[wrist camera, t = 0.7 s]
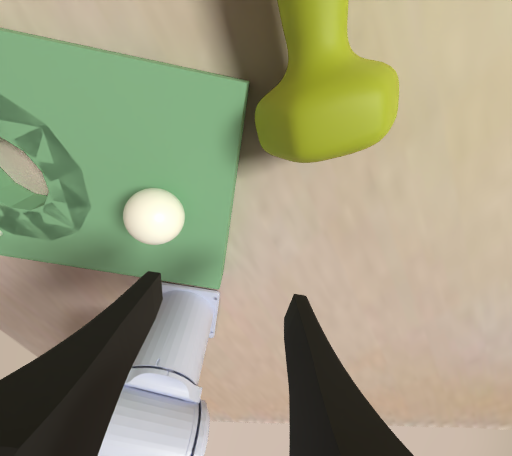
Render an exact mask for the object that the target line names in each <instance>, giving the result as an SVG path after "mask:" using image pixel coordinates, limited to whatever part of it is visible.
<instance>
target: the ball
mask: <svg viewBox="0 0 512 456" xmlns="http://www.w3.org/2000/svg"><path fill="white" fill-rule="evenodd" d="M123 221H124V225H125V227H126V229H127V231H128V232H129V234H130V235H131V236H132V237H134V238H135V239H136V240H138V241H140V242H142V243H145V244H150V245H159V244H164V243H167V242H169V241H171V240H172V239H174V238H175V237H176V236H177V235H178V234H179V233H180V231H181V230H182V228H183V225H184V221H185V212H184V209H183V206H182V204H181V202H180V201H179V200H178V198H177V197H175V196H174V195H173V194H172V193H170V192H168V191H166V190H163V189H159V188H148V189H143V190H141V191H139V192H137V193H135V194H134V195H132V196H131V197H130V199H129V200H128V201H127V203H126V205H125V207H124V211H123Z"/></svg>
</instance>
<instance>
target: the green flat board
mask: <svg viewBox="0 0 512 456" xmlns="http://www.w3.org/2000/svg"><path fill="white" fill-rule="evenodd" d="M249 83H250V81H247V80H242V79H238V78H233V77H228V76H224V75H219V74H214V73H210V72H205V71H200V70H196V69H191V68H186V67H182V66H177V65H172V64H168V63H163V62H158V61H154V60H149V59H144V58H140V57H135V56H130V55H126V54H121V53H116V52H111V51H107V50H102V49H97V48H93V47H88V46H83V45H79V44H74V43H69V42H65V41H60V40H55V39H51V38H46V37H41V36H37V35H32V34H27V33H23V32H18V31H13V30H9V29H4V28H0V137H1V138H3V139H5V140H6V141H8V142H9V143H11V144H13V145H14V146H16V147H18V148H19V149H21V150H23V151H24V152H25V153H26V154H27V155H28V157H29V158H30V159H31V160H32V161H33V162H34V163H35V164H36V166H37V167H38V168H39V169H40V170H41V171H42V173H43V176H44V178H45V181H46V184H47V187H48V190H49V193H48V196H46V195H40V194H35V193H33V192H31V191H29V190H27V189H26V188H24V187H22V186H20V185H19V184H17V183H15V182H14V181H13V180H12V179H11V178H10V177H9V176H8V175H7V174H6V173H5V172H4V171H3V170H2V169H1V168H0V231H1V232H2V233H3V235H1V236H0V255H3V256H9V257H15V258H22V259H28V260H34V261H41V262H47V263H54V264H60V265H66V266H73V267H79V268H85V269H92V270H98V271H105V272H111V273H117V274H124V275H130V276H136V277H142V276H143V275H144V274H145V273H146V272H148V271H152V272H158V273H161V280H162V281H168V282H175V283H181V284H187V285H194V286H200V287H207V288H213V289H219V288H220V284H221V280H222V275H223V270H224V263H225V256H226V249H227V241H228V234H229V227H230V220H231V213H232V205H233V198H234V191H235V184H236V177H237V170H238V162H239V155H240V148H241V141H242V134H243V126H244V119H245V112H246V105H247V98H248V91H249ZM148 188H159V189H163V190H166V191H168V192H170V193H172V194H173V195H174V196H175V197H177V198H178V200H179V201H180V202H181V204H182V206H183V209H184V212H185V221H184V225H183V228H182V230H181V231H180V233H179V234H178V235H177V236H176V237H175V238H174V239H172V240H171V241H169V242H167V243H164V244H159V245H150V244H145V243H142V242H140V241H138V240H136V239H135V238H134V237H132V236H131V235H130V234H129V232H128V231H127V229H126V227H125V225H124V221H123V211H124V207H125V205H126V203H127V201H128V200H129V199H130V197H131V196H132V195H134V194H135V193H137V192H139V191H141V190H143V189H148Z"/></svg>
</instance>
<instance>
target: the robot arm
mask: <svg viewBox="0 0 512 456" xmlns="http://www.w3.org/2000/svg"><path fill="white" fill-rule="evenodd" d="M219 298H220V293H219V292H218V291H215V290H208V289H202V288H196V287H189V286H183V285H176V284H170V283H164V282H161V273H158V272H152V271H148V272H146V273H145V274H144V275H143V276H142V277H141V278H140V279H139V280H138V281H137V282H136V283H135V284H134V285H132V286H131V287H130V288H129V289H128V290H127V291H126V292H125V293H124V294H123V295H121V296H120V297H119V298H118V299H117V300H116V301H115V302H113V303H112V304H111V305H110V306H109V307H108V308H106V309H105V310H104V311H103V312H101V313H100V314H99V315H98V316H96V317H95V318H94V319H93V320H91V321H90V322H89V323H88V324H86V325H85V326H84V327H82V328H81V329H80V330H78V331H77V332H75V333H74V334H73V335H71V336H70V337H68V338H67V339H65V340H64V341H63V342H61V343H60V344H58V345H57V346H55V347H54V348H52V349H50V350H49V351H47V352H46V353H44V354H43V355H41V356H40V357H38V358H36V359H35V360H33V361H32V362H30V363H28V364H27V365H25V366H23V367H22V368H20V369H18V370H16V371H15V372H13V373H11V374H10V375H8V376H6V377H4V378H3V379H1V380H0V456H204V454H205V450H206V446H207V440H208V434H209V424H210V423H209V422H210V417H209V411H208V409H207V405H206V402H205V401H204V400H201V399H200V397H201V392H202V387H199V386H198V382H199V377H200V373H201V368H202V364H203V360H204V355H205V351H206V346H207V342H208V338H213V337H214V334H215V327H216V319H217V312H218V305H219ZM284 342H285V352H286V362H287V372H288V382H289V402H290V456H413V454H412V453H411V452H410V451H409V450H408V449H407V448H406V447H405V446H404V445H403V443H402V442H401V441H400V440H399V439H398V438H397V437H396V436H395V434H394V433H393V432H392V431H391V430H390V429H389V427H388V426H387V425H386V424H385V422H384V421H383V420H382V419H381V418H380V416H379V415H378V414H377V412H376V411H375V410H374V409H373V407H372V406H371V405H370V403H369V402H368V401H367V399H366V398H365V397H364V396H363V394H362V393H361V392H360V390H359V389H358V387H357V386H356V384H355V383H354V382H353V380H352V379H351V377H350V376H349V374H348V373H347V371H346V370H345V368H344V367H343V365H342V364H341V362H340V360H339V359H338V357H337V355H336V354H335V352H334V350H333V349H332V347H331V345H330V343H329V341H328V340H327V338H326V336H325V334H324V332H323V330H322V328H321V326H320V324H319V322H318V320H317V318H316V316H315V314H314V312H313V310H312V308H311V305H310V303H309V301H308V299H307V297H306V296H304V295H297V294H294V296H293V298H292V300H291V303H290V305H289V308H288V310H287V313H286V315H285V317H284Z"/></svg>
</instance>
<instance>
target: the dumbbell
mask: <svg viewBox="0 0 512 456" xmlns="http://www.w3.org/2000/svg"><path fill="white" fill-rule="evenodd" d="M277 2H278V7H279V12H280V17H281V22H282V27H283V31H284V35H285V39H286V43H287V49H288V67H287V70H286V73H285V75H284V77H283V78H282V80H281V81H280V83H279V84H278V85H277V86H276V87H275V88H274V89H272V90H271V91H270V92H269V93H268V94H266V95H265V96H264V97H263V98H262V99H261V100H260V102H259V103H258V105H257V107H256V110H255V125H256V130H257V134H258V138H259V142H260V144H261V146H262V148H263V149H264V150H265V151H266V152H267V153H269V154H271V155H273V156H276V157H279V158H283V159H286V160H289V161H293V162H299V163H310V162H318V161H323V160H328V159H332V158H336V157H341V156H345V155H348V154H352V153H355V152H358V151H361V150H364V149H366V148H368V147H370V146H372V145H374V144H376V143H377V142H379V141H380V140H381V139H382V138H383V137H384V136H385V135H386V134H387V133H388V131H389V130H390V128H391V126H392V124H393V122H394V120H395V118H396V115H397V111H398V100H399V81H398V76H397V74H396V71H395V70H394V69H393V68H392V67H391V66H389V65H387V64H385V63H383V62H379V61H374V60H368V59H364V58H362V57H359V56H358V55H356V54H355V53H354V52H353V51H352V49H351V48H350V45H349V42H348V37H347V16H348V0H277Z"/></svg>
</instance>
